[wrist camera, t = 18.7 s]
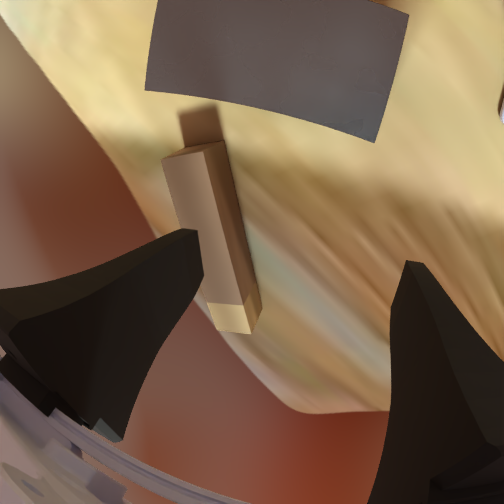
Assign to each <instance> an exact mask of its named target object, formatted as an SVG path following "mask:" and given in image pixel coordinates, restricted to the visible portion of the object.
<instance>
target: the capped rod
mask: <svg viewBox="0 0 504 504" xmlns="http://www.w3.org/2000/svg"><path fill="white" fill-rule="evenodd" d="M161 163H162V167H163V170H164V174H165V177H166V181H167V184H168V187H169V191H170V194H171V197H172V201H173V204H174V207H175V210H176V214H177V217H178V220H179V223H180V226H181V229H182V228H186V229H194V230H198V236H199V243H200V250H201V257H202V264H203V270H204V278H203V280H202V282H201V284H200V285H201V288H202V291H203V294H204V296H205V299H206V302H207V305H208V307H209V310H210V313H211V315H212V318H213V321H214V323H215V326H216V329H217V330H221V331H229V332H237V333H246V334H252V332H253V329H254V327H255V325H256V322H257V320H258V318H259V315H260V313H261V311H262V305H261V300H260V296H259V292H258V287H257V283H256V279H255V274H254V270H253V266H252V261H251V257H250V252H249V248H248V244H247V239H246V235H245V230H244V226H243V222H242V217H241V213H240V209H239V204H238V200H237V195H236V191H235V186H234V182H233V178H232V173H231V169H230V164H229V160H228V156H227V151H226V147H225V142H224V140H222V141H217V142H211V143H206V144H200V145H195V146H190V147H185V148H183V149H181V150H179V151H177V152H175V153H173V154H171V155H169V156H167V157H165V158H163V159H161Z"/></svg>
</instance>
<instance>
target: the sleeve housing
mask: <svg viewBox="0 0 504 504" xmlns="http://www.w3.org/2000/svg"><path fill="white" fill-rule="evenodd" d="M408 18H409V15H408V14H406V13H403V12H401V11H398V10H395V9H393V8H390V7H387V6H384V5H381V4H378V3H375V2H372V1H368V0H158V3H157V8H156V13H155V18H154V24H153V30H152V36H151V42H150V49H149V56H148V64H147V72H146V81H145V90H146V91H156V92H166V93H174V94H182V95H189V96H196V97H203V98H209V99H215V100H220V101H226V102H231V103H236V104H241V105H246V106H250V107H255V108H259V109H264V110H268V111H272V112H276V113H280V114H284V115H288V116H292V117H295V118H299V119H302V120H306V121H309V122H313V123H316V124H320V125H323V126H326V127H329V128H332V129H335V130H338V131H341V132H344V133H347V134H350V135H353V136H356V137H359V138H362V139H364V140H367V141H370V142H372V143H375V140H376V137H377V134H378V131H379V128H380V124H381V121H382V118H383V115H384V111H385V108H386V105H387V101H388V98H389V94H390V91H391V87H392V84H393V80H394V76H395V73H396V69H397V65H398V61H399V57H400V53H401V49H402V45H403V41H404V36H405V32H406V27H407V23H408Z"/></svg>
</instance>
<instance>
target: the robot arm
mask: <svg viewBox="0 0 504 504" xmlns="http://www.w3.org/2000/svg"><path fill="white" fill-rule="evenodd" d="M500 120H501V122H502V123H503V124H504V100H503V104H502V107H501V111H500ZM203 278H204V270H203V264H202V257H201V250H200V243H199V236H198V230H194V229H186V228H182V229H179V230H176V231H174V232H171V233H169V234H166V235H164V236H162V237H160V238H158V239H156V240H154V241H152V242H149V243H147V244H145V245H144V246H141V247H139V248H137V249H135V250H133V251H130V252H128V253H126V254H124V255H122V256H119V257H117V258H115V259H113V260H111V261H108V262H106V263H104V264H101V265H99V266H96V267H93V268H91V269H88V270H85V271H82V272H80V273H77V274H73V275H70V276H66V277H63V278H60V279H56V280H52V281H48V282H45V283H39V284H35V285H29V286H23V287H16V288H7V289H0V345H1V347H2V348H3V350H4V351H5V352H6V355H5V356H4V357H3V358H2V357H1V356H0V504H133V503H131V502H129V501H127V500H126V499H124V498H123V496H124V494H125V493H126V491H127V487H126V486H124V485H122V484H121V483H119V482H118V481H116V480H114V479H113V478H111V477H109V476H108V475H106V474H105V473H103V472H101V471H100V470H98V469H96V468H95V467H93V466H92V465H90V464H89V463H87V462H86V461H85V460H84V459H83V458H82V452H81V450H83V451H84V452H85V453H87V454H88V455H90V456H91V457H93V458H94V459H96V460H97V461H99V462H100V463H102V464H104V465H105V466H107V467H109V468H110V469H112V470H113V471H115V472H117V473H118V474H120V475H122V476H124V477H125V478H127V479H129V480H131V481H133V482H134V483H136V484H138V485H140V486H142V487H144V488H146V489H148V490H150V491H152V492H154V493H156V494H158V495H160V496H162V497H165V498H167V499H169V500H171V501H173V502H176V503H178V504H250V503H247V502H243V501H240V500H236V499H233V498H230V497H227V496H223V495H220V494H217V493H214V492H211V491H209V490H206V489H203V488H200V487H198V486H195V485H192V484H190V483H187V482H185V481H182V480H180V479H178V478H175V477H173V476H171V475H168V474H166V473H164V472H162V471H160V470H157V469H155V468H153V467H151V466H149V465H147V464H145V463H143V462H141V461H139V460H137V459H135V458H133V457H132V456H130V455H128V454H126V453H124V452H122V451H121V450H119V449H117V448H115V447H114V446H112V445H110V444H109V443H107V442H105V441H103V440H102V439H100V438H99V437H97V436H95V435H94V434H92V433H91V432H89V431H88V430H86V429H85V428H83V427H82V425H84V426H85V427H87V428H88V429H90V430H94V431H95V432H97V433H98V434H100V435H102V436H103V437H105V438H107V439H108V440H110V441H112V442H120V441H122V440H123V437H124V434H125V430H126V427H127V424H128V421H129V418H130V415H131V412H132V409H133V406H134V404H135V401H136V399H137V396H138V394H139V391H140V389H141V387H142V384H143V382H144V380H145V377H146V375H147V373H148V371H149V369H150V367H151V365H152V363H153V361H154V359H155V357H156V355H157V353H158V351H159V349H160V348H161V346H162V344H163V343H164V341H165V340H166V338H167V337H168V335H169V334H170V332H171V331H172V329H173V328H174V326H175V325H176V323H177V322H178V321H179V319H180V318H181V316H182V315H183V313H184V312H185V310H186V309H187V307H188V306H189V304H190V303H191V301H192V300H193V298H194V296H195V294H196V292H197V290H198V288H199V286H200V284H201V282H202V280H203ZM390 353H391V405H390V413H389V420H388V426H387V432H386V437H385V442H384V448H383V452H382V456H381V460H380V464H379V468H378V472H377V475H376V479H375V482H374V485H373V488H372V491H371V494H370V497H369V500H368V503H367V504H504V362H503V361H502V360H501V359H500V358H499V357H498V356H497V354H496V353H495V352H494V351H493V350H492V349H491V348H490V347H489V346H488V345H487V343H486V342H485V341H484V340H483V339H482V338H481V337H480V336H479V334H478V333H477V332H476V331H475V330H474V328H473V327H472V326H471V325H470V323H469V322H468V321H467V319H466V318H465V317H464V316H463V314H462V313H461V312H460V311H459V309H458V308H457V307H456V305H455V304H454V303H453V301H452V300H451V299H450V297H449V296H448V295H447V293H446V292H445V291H444V289H443V288H442V286H441V285H440V284H439V282H438V281H437V280H436V278H435V277H434V276H433V274H432V273H431V272H430V271H429V269H428V268H427V267H426V266H425V265H424V263H421V262H414V261H408V260H406V262H405V266H404V269H403V272H402V276H401V279H400V282H399V285H398V288H397V291H396V294H395V297H394V300H393V303H392V306H391V315H390ZM79 448H80V449H81V450H80V449H79Z"/></svg>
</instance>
